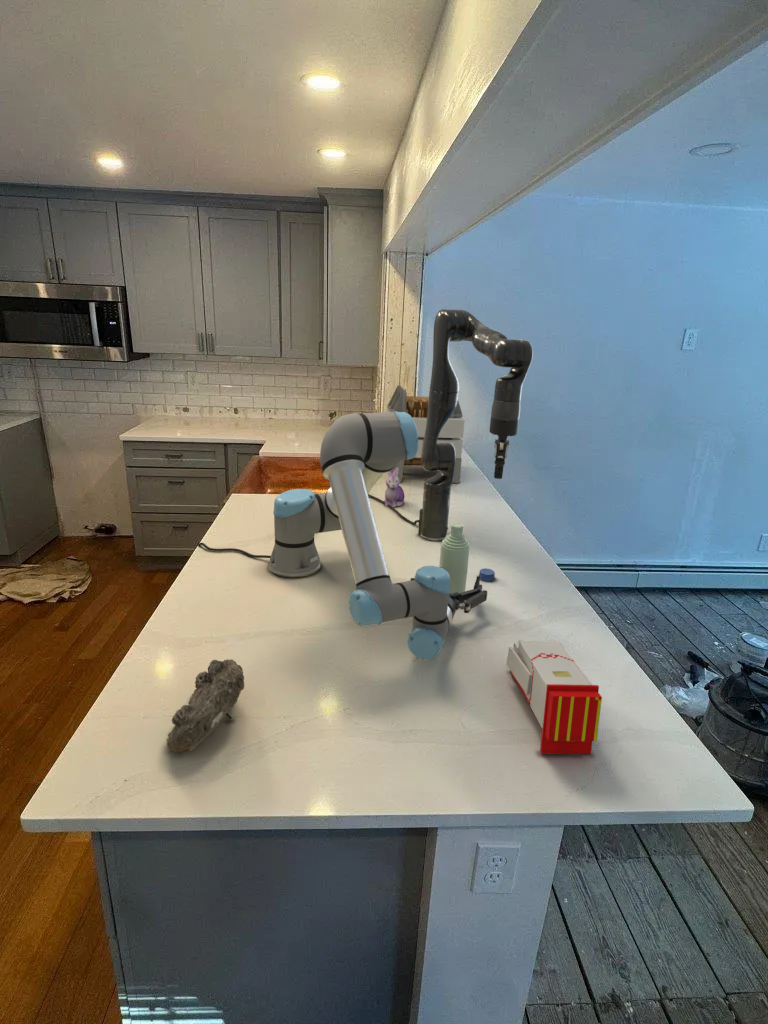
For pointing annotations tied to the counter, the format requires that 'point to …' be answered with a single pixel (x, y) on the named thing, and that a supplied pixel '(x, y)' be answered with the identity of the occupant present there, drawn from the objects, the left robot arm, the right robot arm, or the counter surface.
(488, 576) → the cap
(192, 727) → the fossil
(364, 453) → the left robot arm
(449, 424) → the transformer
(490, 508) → the counter surface
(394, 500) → the figurine
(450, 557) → the bottle
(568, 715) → the toy
